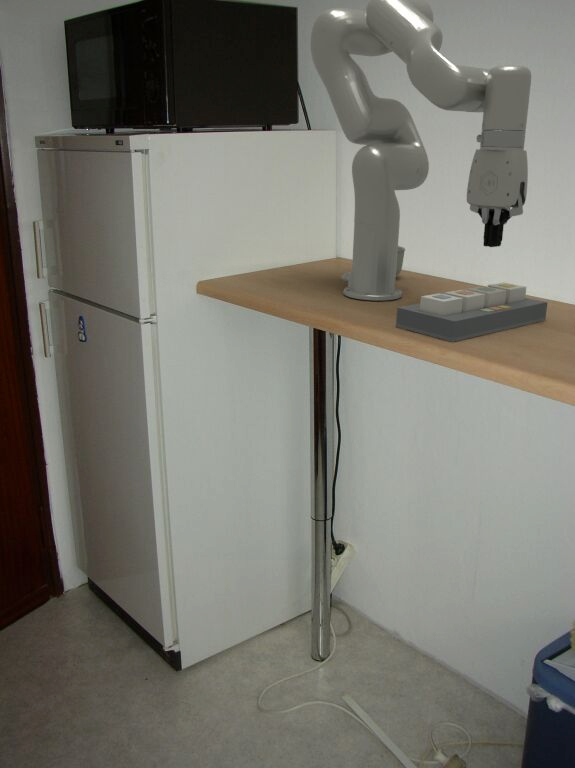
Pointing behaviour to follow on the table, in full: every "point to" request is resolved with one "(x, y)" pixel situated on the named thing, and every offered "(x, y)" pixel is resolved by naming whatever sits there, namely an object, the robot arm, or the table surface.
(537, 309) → the keypad base
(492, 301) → the key sage
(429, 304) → the key slate
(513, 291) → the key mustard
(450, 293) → the key terracotta
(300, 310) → the table surface
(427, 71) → the robot arm
